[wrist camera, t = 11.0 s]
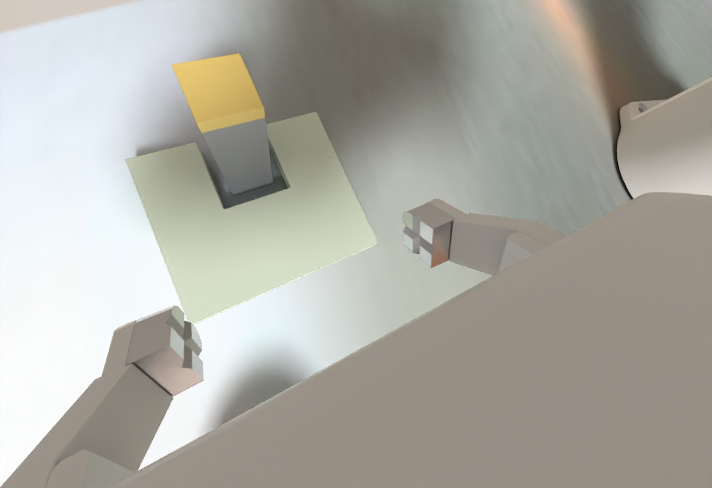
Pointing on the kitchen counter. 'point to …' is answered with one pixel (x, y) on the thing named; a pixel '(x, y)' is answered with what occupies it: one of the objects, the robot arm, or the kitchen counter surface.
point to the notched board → (250, 219)
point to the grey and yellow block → (229, 118)
